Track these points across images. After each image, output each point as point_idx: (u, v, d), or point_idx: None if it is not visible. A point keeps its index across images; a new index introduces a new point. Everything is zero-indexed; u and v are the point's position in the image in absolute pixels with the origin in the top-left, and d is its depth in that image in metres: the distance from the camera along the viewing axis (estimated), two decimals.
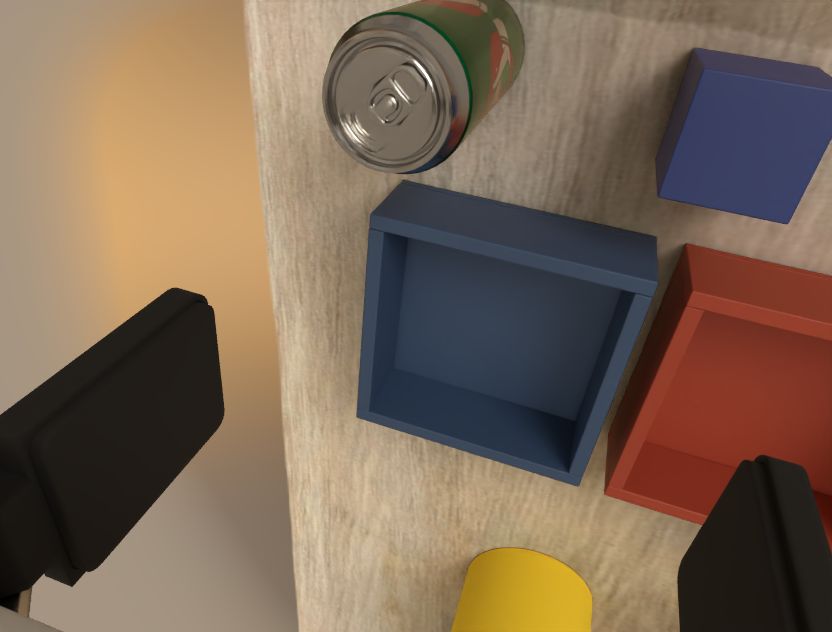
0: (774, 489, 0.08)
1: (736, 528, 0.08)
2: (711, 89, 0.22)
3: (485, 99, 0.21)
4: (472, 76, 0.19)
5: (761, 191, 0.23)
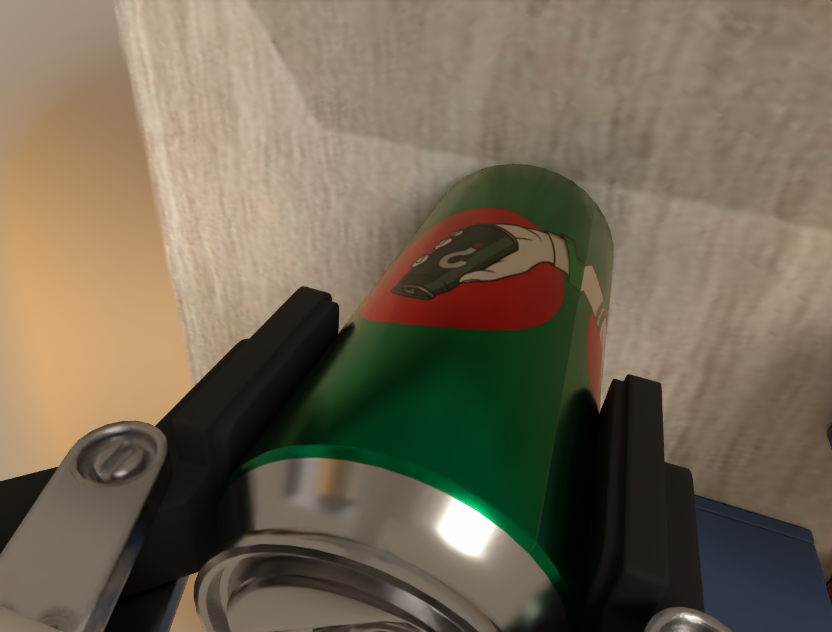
0: (629, 399, 0.09)
1: (600, 436, 0.10)
2: None
3: None
4: (578, 580, 0.07)
5: None
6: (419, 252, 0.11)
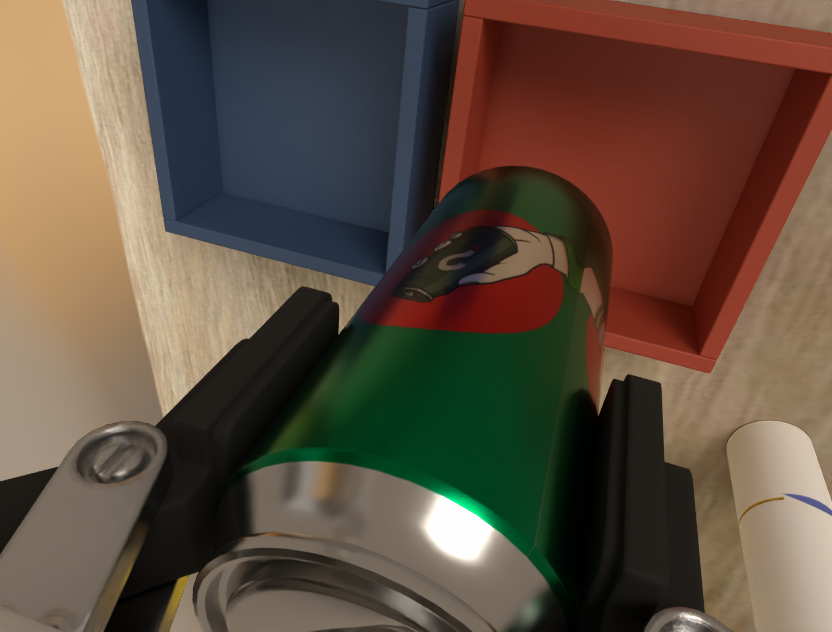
0: (629, 399, 0.09)
1: (601, 436, 0.10)
2: None
3: None
4: (577, 584, 0.07)
5: None
6: (418, 254, 0.11)
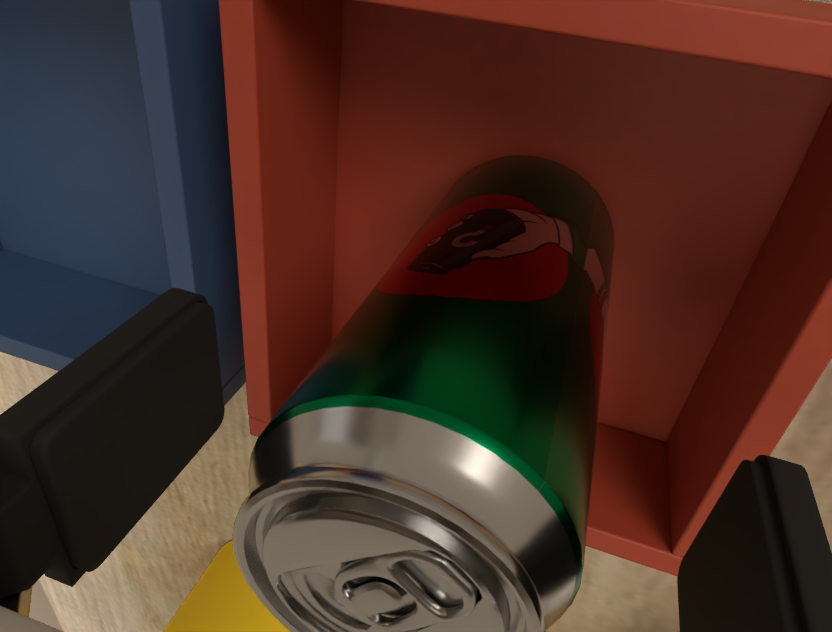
0: (774, 489, 0.08)
1: (736, 528, 0.08)
2: None
3: None
4: (583, 522, 0.08)
5: None
6: (432, 234, 0.12)
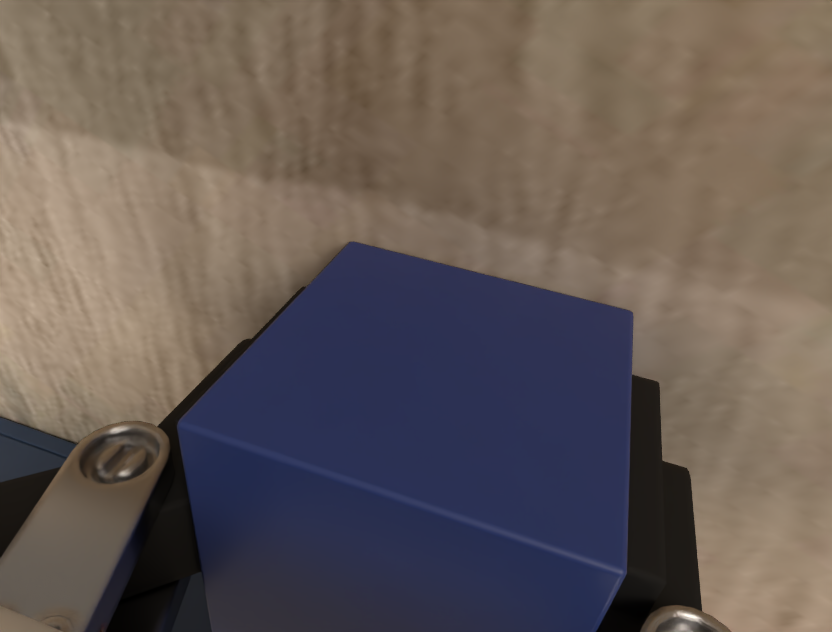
0: None
1: None
2: (219, 476, 0.07)
3: None
4: None
5: None
6: None
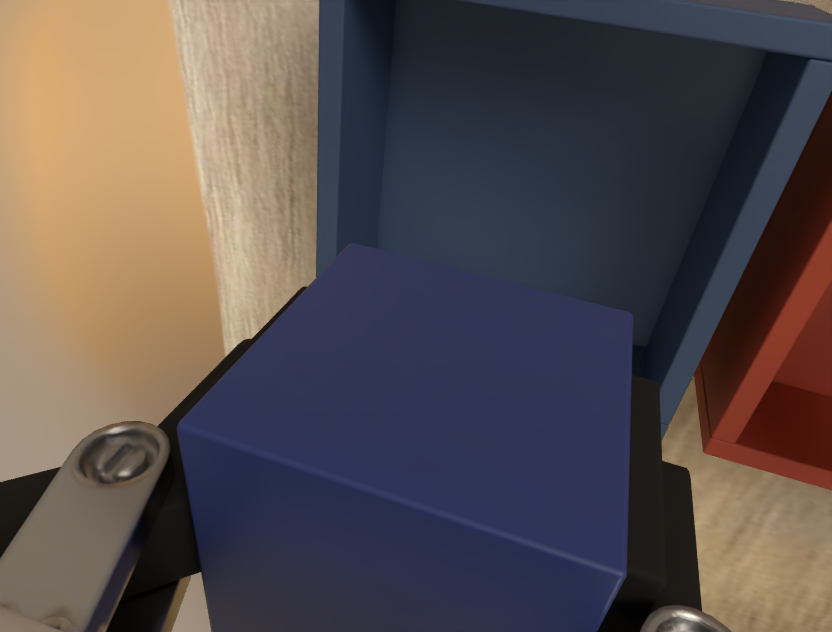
0: None
1: None
2: (219, 478, 0.07)
3: None
4: None
5: None
6: None
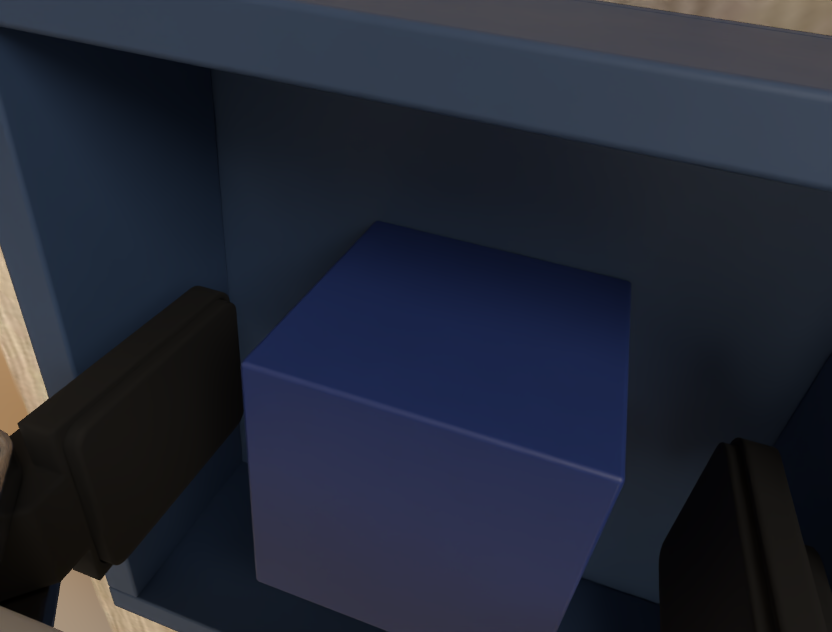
0: (747, 469, 0.08)
1: (711, 508, 0.09)
2: (275, 410, 0.08)
3: None
4: None
5: (456, 620, 0.09)
6: None
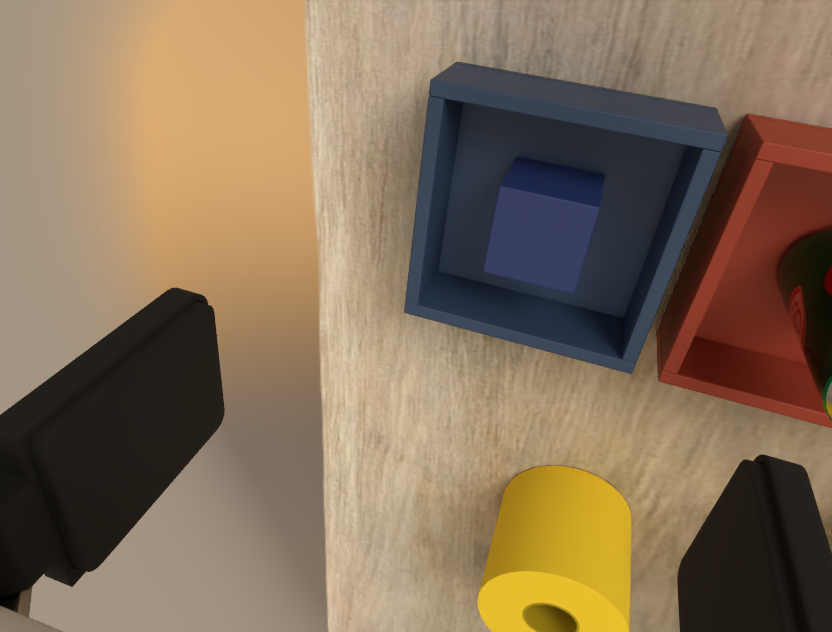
0: (774, 489, 0.08)
1: (736, 528, 0.08)
2: (507, 200, 0.30)
3: None
4: None
5: (551, 270, 0.31)
6: None
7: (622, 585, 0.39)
